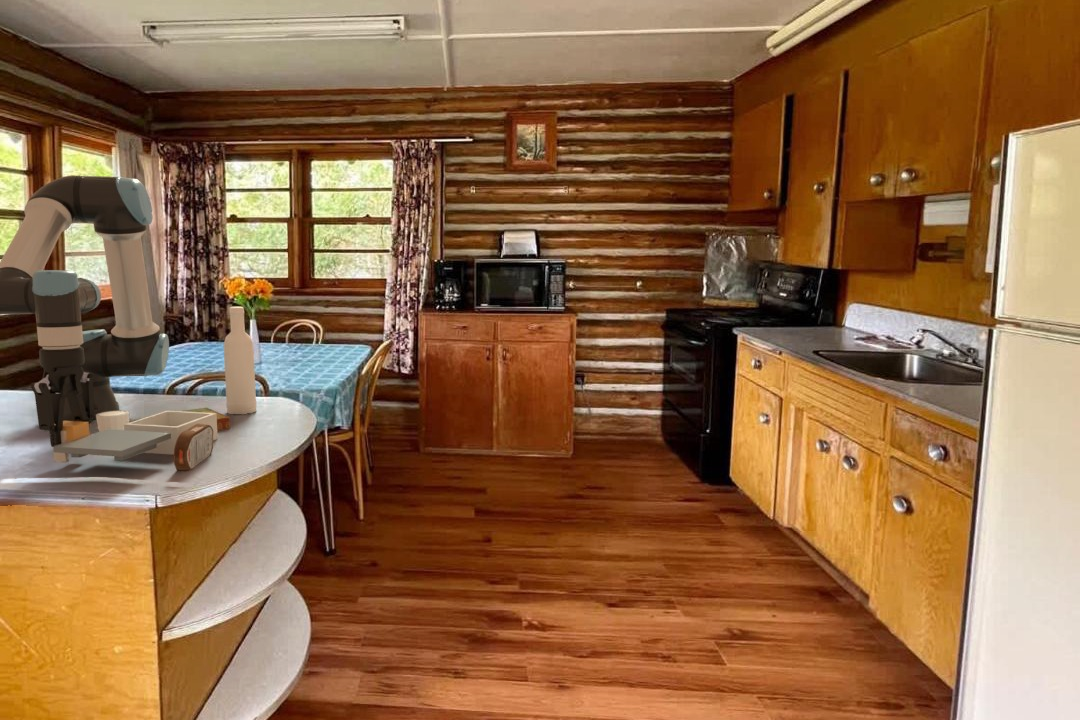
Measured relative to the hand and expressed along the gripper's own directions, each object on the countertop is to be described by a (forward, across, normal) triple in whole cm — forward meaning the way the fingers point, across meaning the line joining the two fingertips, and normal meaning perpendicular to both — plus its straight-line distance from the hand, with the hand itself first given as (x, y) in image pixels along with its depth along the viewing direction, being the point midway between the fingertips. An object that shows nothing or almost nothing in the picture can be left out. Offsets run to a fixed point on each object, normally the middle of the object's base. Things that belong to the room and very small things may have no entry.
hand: (71, 457), depth 143 cm
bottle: (+2, -55, +4) cm, 55 cm away
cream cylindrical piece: (+3, -20, -7) cm, 21 cm away
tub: (+2, -18, +10) cm, 21 cm away
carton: (+3, -36, +5) cm, 36 cm away
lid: (-2, 0, +8) cm, 8 cm away
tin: (+3, -7, +23) cm, 25 cm away
